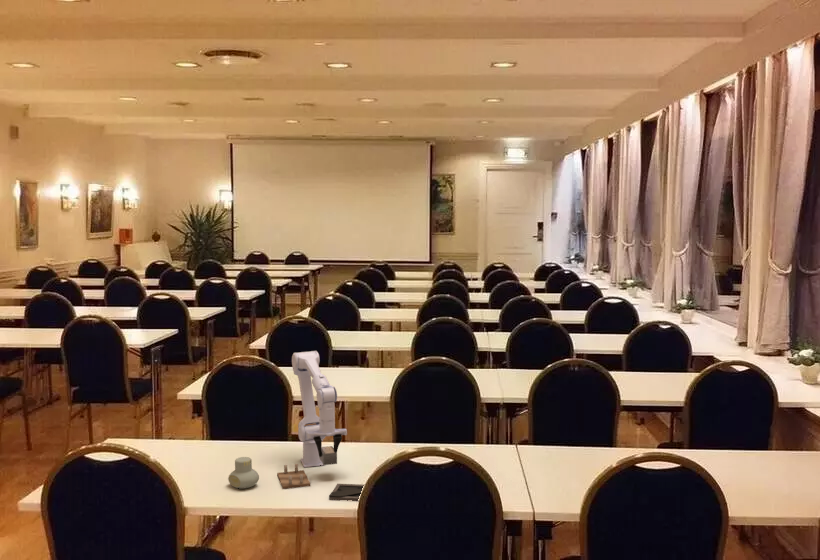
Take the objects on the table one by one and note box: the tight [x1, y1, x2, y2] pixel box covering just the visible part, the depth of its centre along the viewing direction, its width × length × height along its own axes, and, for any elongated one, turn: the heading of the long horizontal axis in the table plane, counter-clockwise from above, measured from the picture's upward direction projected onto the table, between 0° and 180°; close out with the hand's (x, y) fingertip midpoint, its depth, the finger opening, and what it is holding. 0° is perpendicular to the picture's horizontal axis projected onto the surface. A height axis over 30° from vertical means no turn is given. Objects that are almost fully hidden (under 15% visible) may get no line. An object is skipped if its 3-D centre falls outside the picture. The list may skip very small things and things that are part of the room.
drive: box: [319, 445, 338, 466], centre depth 296 cm, size 9×5×4 cm, turn 17°
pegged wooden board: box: [277, 463, 311, 490], centre depth 293 cm, size 15×10×4 cm, turn 17°
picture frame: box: [328, 483, 365, 502], centre depth 280 cm, size 13×2×18 cm
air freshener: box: [227, 456, 260, 490], centre depth 288 cm, size 11×8×10 cm
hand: (327, 455), depth 296 cm, fingers closed on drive, 5 cm apart
